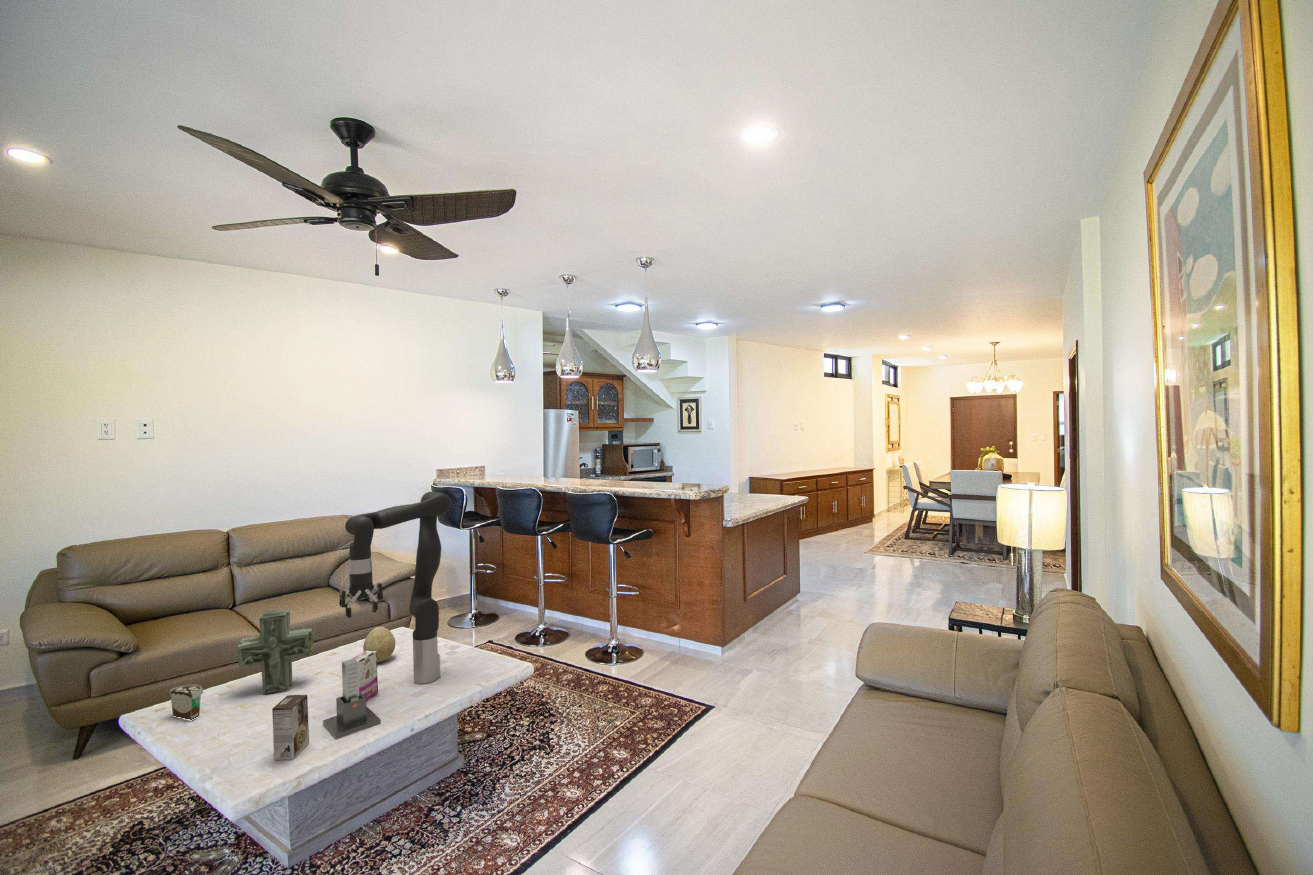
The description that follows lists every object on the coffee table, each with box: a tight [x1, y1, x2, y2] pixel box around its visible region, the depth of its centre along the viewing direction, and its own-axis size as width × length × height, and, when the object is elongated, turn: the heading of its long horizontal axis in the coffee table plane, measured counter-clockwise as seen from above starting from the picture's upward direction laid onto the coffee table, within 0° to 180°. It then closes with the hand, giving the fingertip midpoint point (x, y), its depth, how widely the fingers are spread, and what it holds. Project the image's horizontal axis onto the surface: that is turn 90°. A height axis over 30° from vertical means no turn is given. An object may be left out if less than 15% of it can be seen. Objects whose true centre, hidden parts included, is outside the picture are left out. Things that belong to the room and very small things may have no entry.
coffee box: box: [271, 694, 310, 761], centre depth 183 cm, size 9×6×16 cm
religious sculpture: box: [237, 608, 314, 695], centre depth 229 cm, size 24×12×30 cm, turn 114°
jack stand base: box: [322, 692, 382, 740], centre depth 200 cm, size 14×14×10 cm
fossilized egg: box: [362, 626, 396, 663], centre depth 255 cm, size 13×13×15 cm
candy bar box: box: [351, 651, 379, 702], centre depth 218 cm, size 11×5×16 cm, turn 168°
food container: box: [168, 683, 204, 721], centre depth 209 cm, size 12×6×10 cm, turn 71°
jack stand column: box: [341, 657, 360, 703], centre depth 200 cm, size 4×4×16 cm
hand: (362, 614), depth 214 cm, fingers open, 8 cm apart
